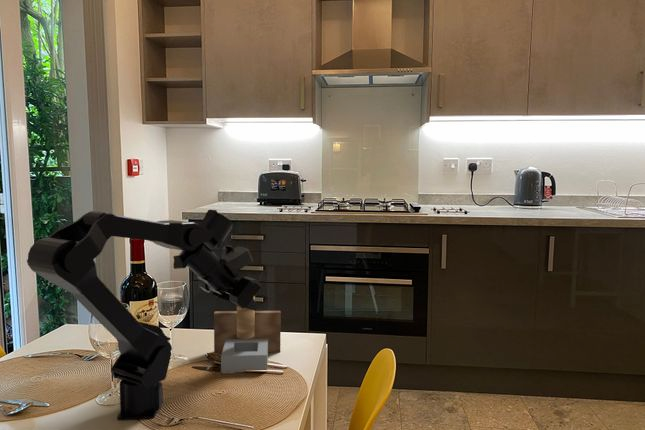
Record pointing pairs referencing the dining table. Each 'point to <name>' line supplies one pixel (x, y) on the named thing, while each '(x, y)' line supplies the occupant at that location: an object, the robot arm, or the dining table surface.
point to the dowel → (245, 322)
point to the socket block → (244, 355)
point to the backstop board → (264, 328)
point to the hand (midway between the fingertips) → (250, 306)
